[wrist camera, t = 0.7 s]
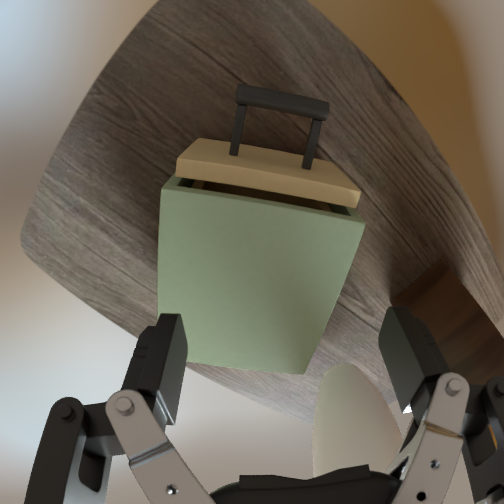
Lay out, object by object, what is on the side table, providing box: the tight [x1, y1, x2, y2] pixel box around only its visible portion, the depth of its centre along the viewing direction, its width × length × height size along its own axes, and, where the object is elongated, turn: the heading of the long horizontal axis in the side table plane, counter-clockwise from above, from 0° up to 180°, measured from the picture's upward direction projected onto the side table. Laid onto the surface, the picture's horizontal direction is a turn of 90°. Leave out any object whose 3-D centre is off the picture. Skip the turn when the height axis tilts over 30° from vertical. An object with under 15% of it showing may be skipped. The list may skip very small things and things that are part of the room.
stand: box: [390, 259, 504, 385], centre depth 26 cm, size 8×8×18 cm
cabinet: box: [157, 172, 366, 374], centre depth 26 cm, size 15×13×10 cm
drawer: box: [175, 84, 361, 213], centre depth 23 cm, size 18×11×8 cm, turn 170°
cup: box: [312, 363, 403, 478], centre depth 29 cm, size 10×10×22 cm
